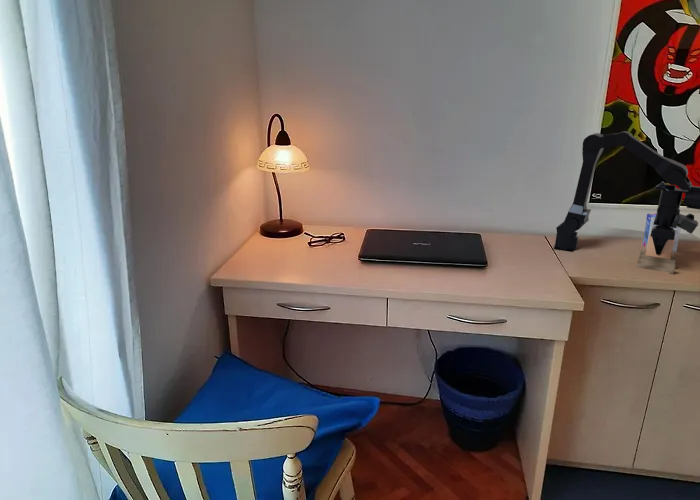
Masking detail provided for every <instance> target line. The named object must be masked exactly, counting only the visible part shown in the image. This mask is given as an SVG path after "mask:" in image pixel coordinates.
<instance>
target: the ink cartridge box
mask: <svg viewBox="0 0 700 500" xmlns="http://www.w3.org/2000/svg"><path fill="white" fill-rule="evenodd" d="M656 214H657V213H647V214H646V220H645V226H644V235H643V240H642V246H643V247H644V249H647V244H648V240H649V235H650V234H651V231H652V228H653V227H655V226H656V225H653V224H654V220H655V217H656ZM671 228H672V227H671ZM673 229H674V230H675V237H674V238H675V241H674V246H673V250H672V253H677V251H678V247H679V246H678V245H679V240H680V234H681V229H682V228H680V227H678V226H677V227H676V228H673Z"/></svg>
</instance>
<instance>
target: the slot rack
mask: <svg viewBox="0 0 700 500" xmlns="http://www.w3.org/2000/svg"><path fill="white" fill-rule="evenodd" d="M639 252H640V253H639V256H638V260H637V264H636V268H638V269H643V270H644V269H645V270H651V271H657V272H662V273H669V275H674V273H675V269H676V261H677V260H676V259H677V256H676V255H672V254H671V258H670V259H665V258H659V257H654V256H648V255H645V253H646V250H640V251H639Z"/></svg>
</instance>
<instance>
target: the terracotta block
mask: <svg viewBox="0 0 700 500" xmlns="http://www.w3.org/2000/svg"><path fill="white" fill-rule="evenodd" d="M674 241H675V238H674V240H668V241H667V242H666V244H665V246H664V248H663V250H662V252H661V254H660V255H658V254H656V251H655V247H654V243H653V239H652V237H651V234H650V235H649V240H648V244H647V249H646V248H645V249H646V250H645V251H646V253H645V255H648V256H654V257H659V258H665V259H670V258H671V255H672V253H673V252H672V251H673V246H674Z"/></svg>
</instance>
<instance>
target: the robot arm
mask: <svg viewBox="0 0 700 500" xmlns="http://www.w3.org/2000/svg"><path fill="white" fill-rule="evenodd" d="M618 146H622V147H623V148H625V149H626V150H628V151H629V152H630V153H631V154H633V155H635V156H637V157H638V158H639V159H640V160H642V161H644V162H645V163H646V164H648V165H649V166H651V167H652V168H653V169H654V170H655V171H656V172H657V174H658V175H659V177H661V178H662V179H663V180H664V181H661V182H660V183H659V184H657V185H656V186H655V187H654V189H655V190H659V191H660V196H659V199H658V200H659V202H658V205H657V210H656V213H655V214H656V217H655V220H654V224H653V225H656V226H655V227H653V228H652V231H651V237H652V239H653V243H654V247H655V251H656V254H658V255H660V254H661V252H662V250H663V248H664V246H665V244H666V242H667V241H668V240H674V237H675V230H674V229H673V228H676V227H677V226H678V227H680V228H681V229H682V230H684V231H686V232H687V233H688V234H693V233H694V231H695V230H696V228H697V227H698V226H699V222H698V220H696V219H695V215H694V214H692V213H688V214H686V215H685V214H682V213H681V209H680V208H681V207H680V206H681V203H682V200H683V203H682V204H683V205H684V206H685V207H686V208H687V209H692V210H700V186H696V185H693V183H692V181H691V180H690V178H689V177H688V175H689V171H688V167H687V166H686V165H685V164H683V163H681V162H678V161H676V160H674V159H671V158H668V157H665V156H663V155H661V154H660V152H658V151H656V150H655V149H653V148H651V147H650V146H648V145H647V144H646V143H644V142H642V141H641V140H640V139H638V138H637V137H635V136H633V134H631V133H630V132H629V131H626V130H625V131H621V132H616V133H615V132H614V133H609V134H608V133H607V134H601V133H599V132H594V133H592V134H589V135H588V136H586V137H585V138H584V139H583V141H582V148H581V149H582V155H581V156H582V165H581V168H580V173H579V177H578V181H577V185H576V189H575V194H574V197H573V201H572V204H571V206H570V208H569V210H568V212H567V214H566V215H565V219H564V220H563V222H562V223H560V224H559V225H558V226H556V228H555V230H556V234H555V235H556V236H555V242H554V247H553V248H552V249H553V250H555V251H556V250H557V251H563V252H570V253H573V252H574V251H576V250H577V249H578V245H579V236H578V233H579V232H578V230H580V229H581V228H582V227H583V226H584V225H586V223H587V222H589V221H590V220H589V215H590V213H591V212H592V209H590V208H589V209H588V208H587V207H588V205H587V202H588V199H589V195H590V191H591V187H592V182H593V178H594V173H595V171H596V165H597V162H598V160H599V159H600V157H601V155H602V153H603V152H604V149H606V148H607V149H608V148H611V147H618ZM665 182H666V183H667V184H666V183H665ZM677 187H678V188H677ZM683 194H684V199H682V198H683ZM671 227H672V228H671Z"/></svg>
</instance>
